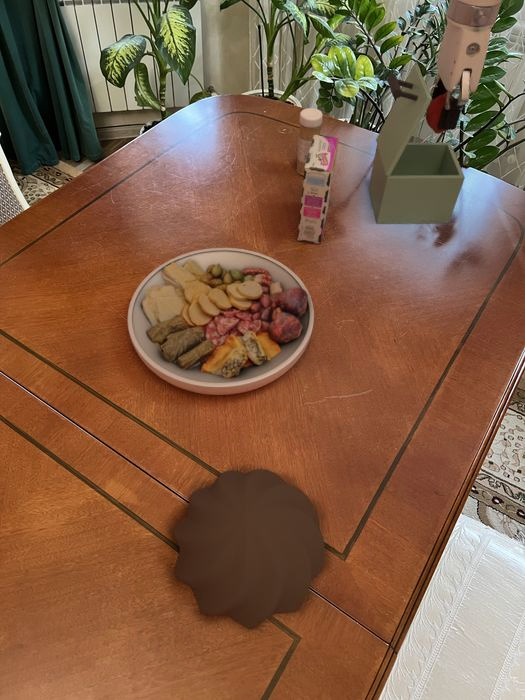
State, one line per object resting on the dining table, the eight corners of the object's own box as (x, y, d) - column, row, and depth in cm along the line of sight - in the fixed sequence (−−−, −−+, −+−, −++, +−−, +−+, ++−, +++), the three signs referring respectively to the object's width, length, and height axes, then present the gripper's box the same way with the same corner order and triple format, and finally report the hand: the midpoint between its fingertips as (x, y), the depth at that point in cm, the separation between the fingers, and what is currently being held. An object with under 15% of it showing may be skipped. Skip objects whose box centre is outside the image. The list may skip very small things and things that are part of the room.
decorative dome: (165, 629, 68) (155, 607, 60) (180, 474, 80) (172, 439, 72) (328, 629, 68) (338, 607, 60) (318, 475, 80) (325, 440, 72)
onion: (419, 123, 107) (430, 81, 101) (450, 124, 107) (462, 82, 101) (423, 141, 103) (435, 98, 97) (455, 142, 103) (469, 99, 97)
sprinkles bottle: (317, 166, 126) (324, 108, 115) (315, 178, 123) (321, 120, 112) (297, 163, 126) (301, 105, 116) (294, 175, 123) (298, 117, 113)
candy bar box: (321, 245, 110) (331, 172, 97) (296, 241, 110) (302, 168, 97) (329, 209, 117) (340, 136, 104) (305, 205, 117) (312, 132, 104)
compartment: (436, 188, 122) (450, 142, 113) (448, 223, 115) (465, 177, 106) (368, 188, 121) (377, 142, 113) (376, 224, 114) (387, 177, 106)
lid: (418, 65, 101) (390, 56, 100) (432, 99, 94) (402, 90, 92) (379, 140, 112) (354, 134, 111) (389, 176, 105) (362, 169, 104)
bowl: (134, 416, 86) (125, 386, 79) (130, 276, 104) (123, 243, 98) (329, 392, 89) (335, 362, 83) (293, 260, 107) (295, 227, 101)
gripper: (513, 35, 83) (474, 145, 98) (481, -12, 94) (450, 94, 108) (462, 34, 83) (431, 145, 97) (436, -13, 94) (411, 93, 108)
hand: (441, 117), depth 103 cm, fingers closed on onion, 5 cm apart
